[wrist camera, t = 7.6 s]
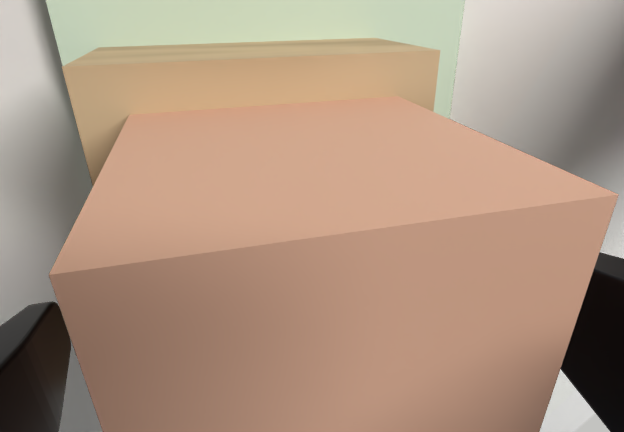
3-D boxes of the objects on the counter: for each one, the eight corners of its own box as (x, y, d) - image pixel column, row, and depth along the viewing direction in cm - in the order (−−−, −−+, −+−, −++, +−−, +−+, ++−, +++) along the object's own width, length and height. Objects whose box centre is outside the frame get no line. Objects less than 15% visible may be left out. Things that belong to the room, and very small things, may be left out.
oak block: (363, 255, 17) (409, 321, 14) (151, 288, 15) (141, 373, 12) (374, 37, 13) (440, 50, 10) (98, 47, 12) (61, 66, 8)
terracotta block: (382, 300, 13) (515, 502, 8) (174, 337, 12) (165, 613, 6) (398, 95, 10) (618, 195, 5) (128, 114, 9) (48, 274, 4)
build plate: (418, 295, 20) (425, 304, 19) (139, 346, 17) (138, 357, 16) (473, -156, 12) (486, -162, 12) (3, -190, 10) (-7, -201, 9)
